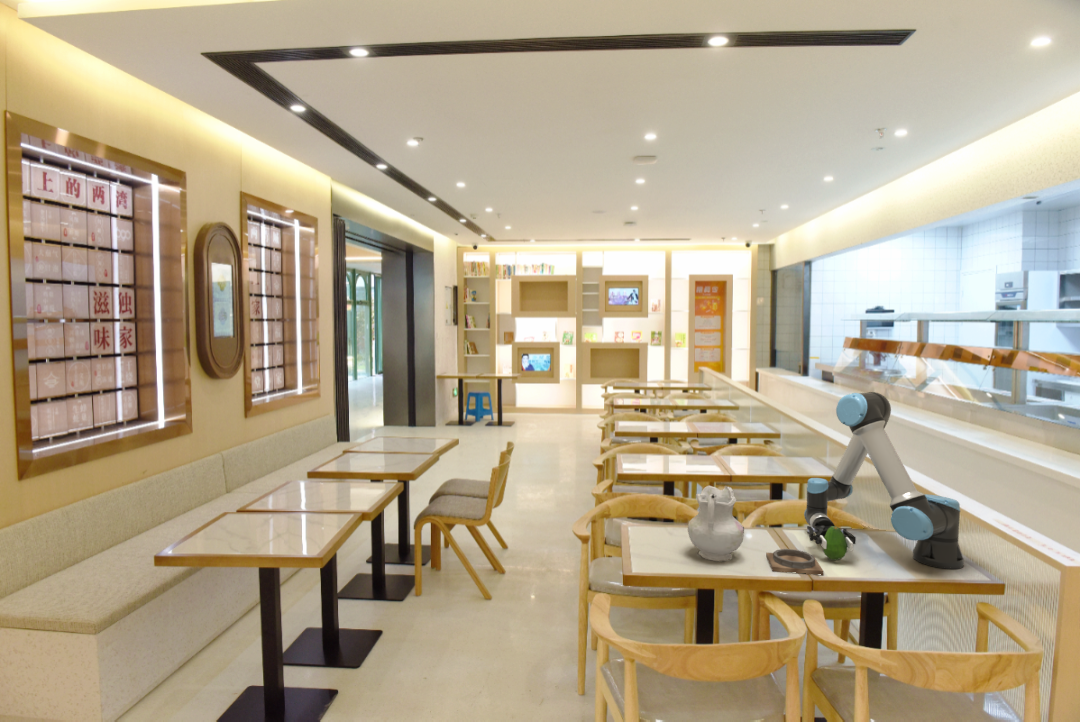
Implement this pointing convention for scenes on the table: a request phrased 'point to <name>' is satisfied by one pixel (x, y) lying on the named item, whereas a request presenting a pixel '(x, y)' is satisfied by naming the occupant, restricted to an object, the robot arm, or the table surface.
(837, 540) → the avocado
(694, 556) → the table surface
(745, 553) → the table surface
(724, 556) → the ceramic pitcher
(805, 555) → the ring stand
